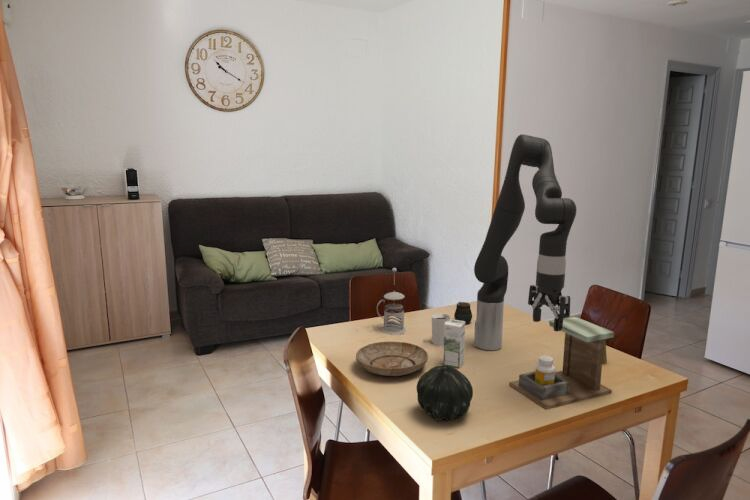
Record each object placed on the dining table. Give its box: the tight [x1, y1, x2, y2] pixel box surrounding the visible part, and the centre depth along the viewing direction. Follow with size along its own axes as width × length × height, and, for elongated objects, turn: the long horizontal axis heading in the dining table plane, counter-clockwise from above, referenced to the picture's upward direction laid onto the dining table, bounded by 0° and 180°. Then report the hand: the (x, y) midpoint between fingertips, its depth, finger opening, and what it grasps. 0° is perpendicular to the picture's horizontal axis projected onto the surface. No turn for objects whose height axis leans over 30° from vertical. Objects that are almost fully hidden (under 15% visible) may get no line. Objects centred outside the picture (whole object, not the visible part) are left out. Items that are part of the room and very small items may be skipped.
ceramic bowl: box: [355, 341, 429, 377], centre depth 169 cm, size 23×24×5 cm
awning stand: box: [508, 316, 615, 410], centre depth 153 cm, size 24×16×18 cm, turn 113°
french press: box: [376, 267, 407, 336], centre depth 202 cm, size 10×12×25 cm
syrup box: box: [442, 318, 466, 369], centre depth 171 cm, size 6×6×14 cm
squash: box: [416, 365, 474, 421], centre depth 139 cm, size 14×15×15 cm
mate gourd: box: [454, 301, 473, 325], centre depth 212 cm, size 7×8×10 cm
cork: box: [602, 339, 608, 365], centre depth 174 cm, size 6×6×11 cm
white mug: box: [431, 313, 451, 347], centre depth 190 cm, size 7×7×10 cm
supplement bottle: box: [534, 355, 556, 386], centre depth 151 cm, size 5×5×10 cm
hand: (546, 325), depth 148 cm, fingers open, 8 cm apart
